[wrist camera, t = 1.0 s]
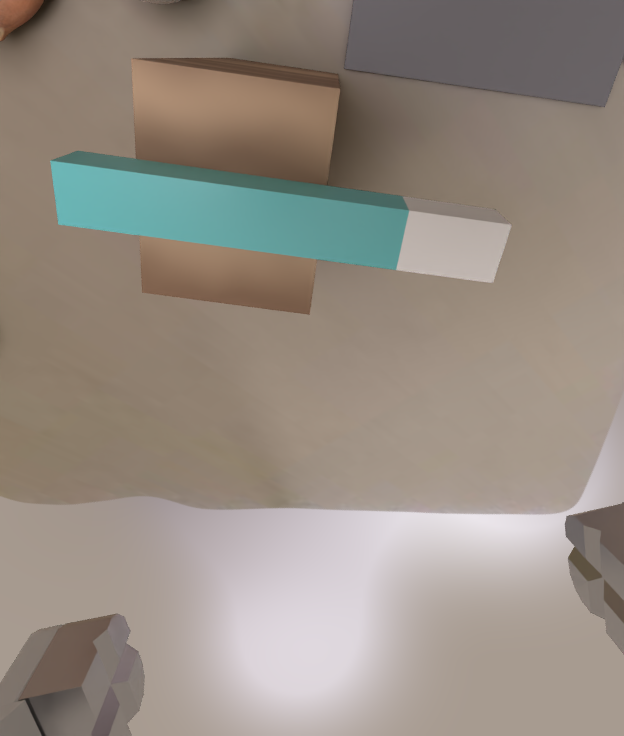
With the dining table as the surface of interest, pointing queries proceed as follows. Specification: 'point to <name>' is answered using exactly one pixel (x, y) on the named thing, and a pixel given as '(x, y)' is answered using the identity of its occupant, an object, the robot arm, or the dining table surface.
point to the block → (278, 216)
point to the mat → (494, 44)
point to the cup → (161, 1)
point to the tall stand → (233, 165)
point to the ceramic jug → (16, 14)
